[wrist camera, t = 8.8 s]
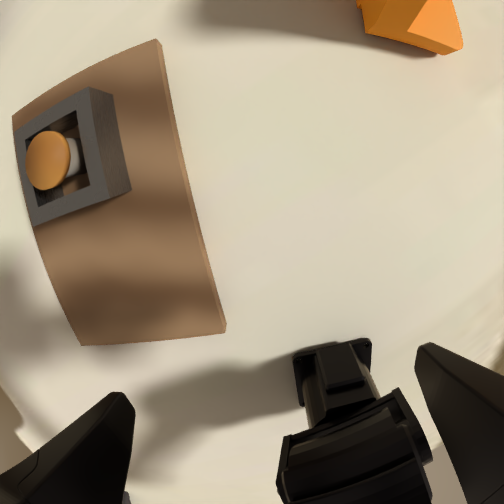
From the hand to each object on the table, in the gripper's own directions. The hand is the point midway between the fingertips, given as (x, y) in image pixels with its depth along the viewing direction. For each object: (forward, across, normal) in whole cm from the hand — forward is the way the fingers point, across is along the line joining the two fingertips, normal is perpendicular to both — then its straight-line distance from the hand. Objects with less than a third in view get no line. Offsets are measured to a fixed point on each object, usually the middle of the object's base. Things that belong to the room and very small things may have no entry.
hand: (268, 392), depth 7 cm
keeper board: (+12, +10, -5) cm, 16 cm away
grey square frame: (+11, +10, -9) cm, 17 cm away
